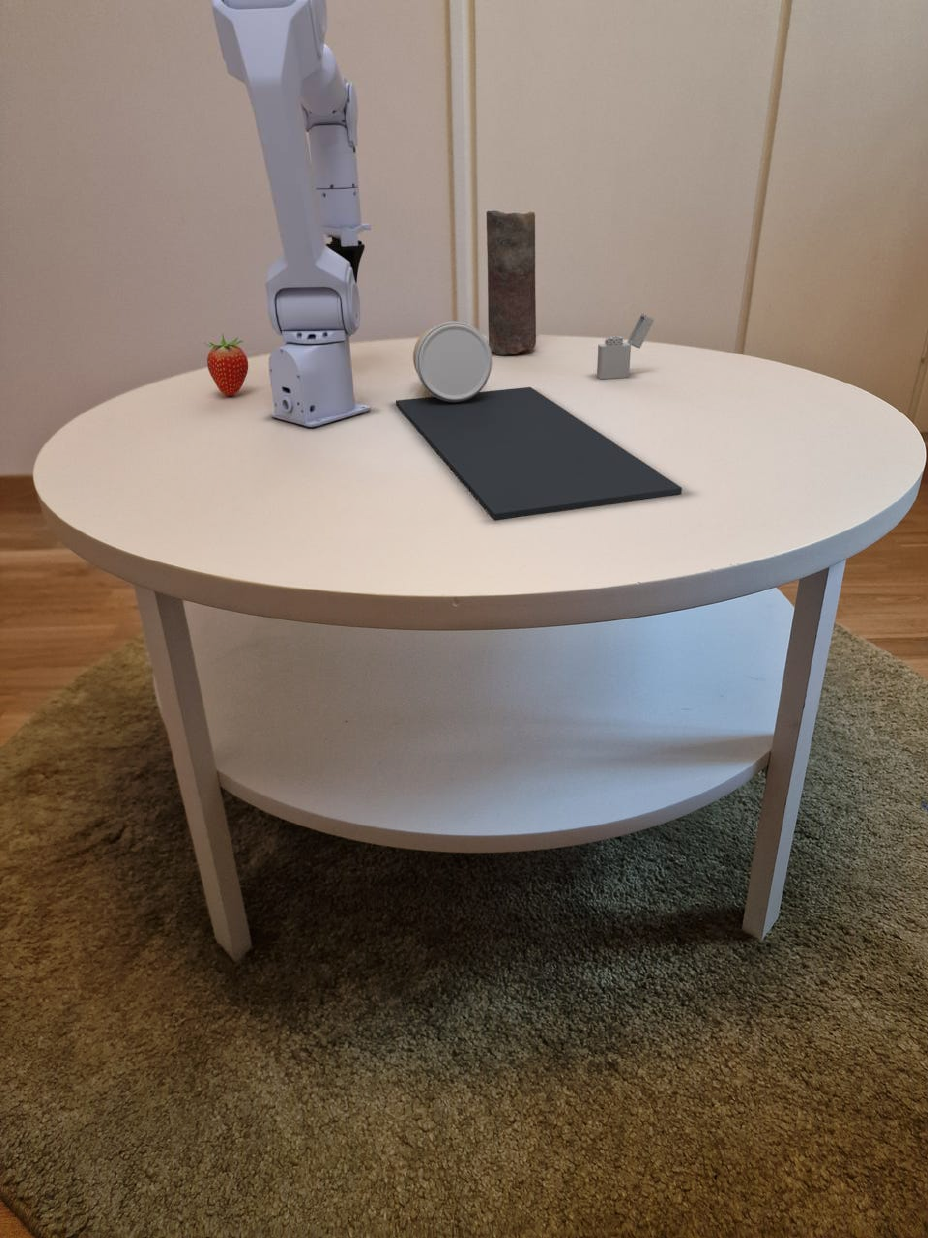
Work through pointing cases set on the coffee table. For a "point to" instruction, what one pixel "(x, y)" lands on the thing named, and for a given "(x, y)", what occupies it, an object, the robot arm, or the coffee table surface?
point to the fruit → (227, 366)
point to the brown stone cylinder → (511, 282)
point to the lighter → (621, 351)
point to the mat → (530, 454)
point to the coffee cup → (453, 361)
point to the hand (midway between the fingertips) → (346, 299)
